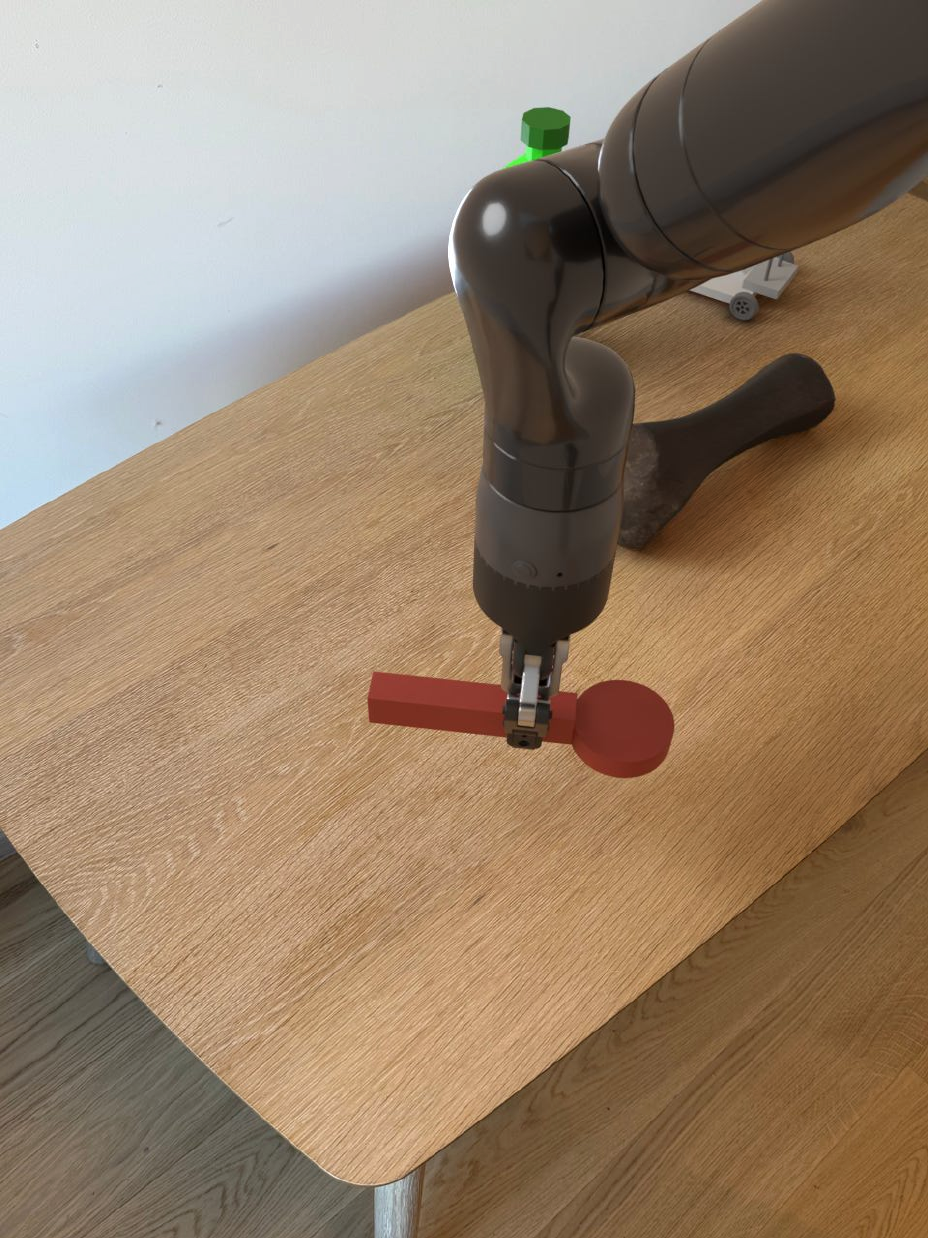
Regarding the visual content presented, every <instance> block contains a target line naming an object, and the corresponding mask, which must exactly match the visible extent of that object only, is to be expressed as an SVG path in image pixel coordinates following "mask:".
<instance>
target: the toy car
mask: <svg viewBox="0 0 928 1238" xmlns="http://www.w3.org/2000/svg"><path fill="white" fill-rule="evenodd" d="M817 242H818V241H816V242H814V243H813V244H815V243H817ZM798 270H799V265H798V264H795V257H794V254H793V252H792V251H791V252H788V253H786V254H783V255H781V256H778V257H775V258H773V259H770V260H768V261H765V262H763V263H760V264H757V265H755V266H752V267H749V268H747V269H745V270H742V271H738V272H735V273H732V274H729V275H726V276H721V277H717V278H712V279H711V280H709V281H707V282H705V283H703V284H701V285H699V286H697V287H695V288H693V289H691V290H689V291H691V292H694V293H697V294H700V295H701V296H706V297H708V298H712V299H715V300H718V301H721V302H723V303H727V304H728V305H729V306H728V307H729V311H730V314H731V315H732V316H733V317H734V318H735V319H737V320H739V321H749V320H751V319H752V318H753V317H754V316H755V315H756V314H757V312H758V311H759V302H758V300H757V298H756V296H757V295H758V294H759V295H762V296H765V297H767V298H771V299H774V300H778V299H779V297H780V296H781V295H782V293H783V292H784V291H785V289H786V288H787V287H788V285H790V283H791V282H792V280H793V279H794V278H795V276H796V275H797V273H798Z"/></svg>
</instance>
